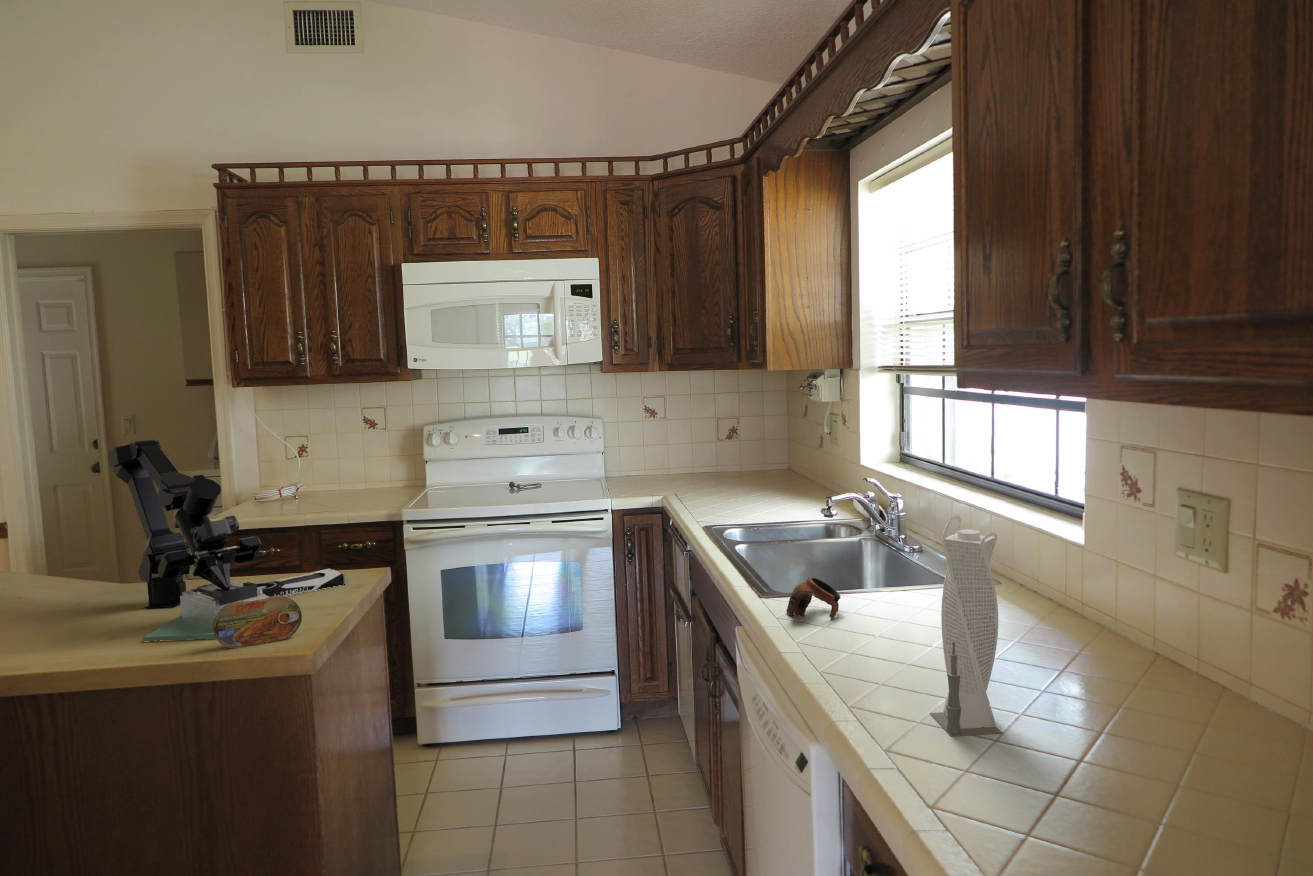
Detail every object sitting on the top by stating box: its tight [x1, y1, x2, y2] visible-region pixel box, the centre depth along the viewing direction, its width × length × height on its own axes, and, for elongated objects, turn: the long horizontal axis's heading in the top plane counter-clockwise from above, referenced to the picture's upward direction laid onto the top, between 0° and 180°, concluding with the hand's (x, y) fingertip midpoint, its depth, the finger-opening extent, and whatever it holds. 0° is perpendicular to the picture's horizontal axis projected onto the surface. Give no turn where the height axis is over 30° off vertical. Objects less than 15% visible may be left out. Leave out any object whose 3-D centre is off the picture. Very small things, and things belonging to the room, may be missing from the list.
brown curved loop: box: [786, 576, 841, 619], centre depth 159 cm, size 12×10×8 cm
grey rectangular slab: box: [196, 583, 236, 596], centre depth 167 cm, size 12×4×1 cm, turn 53°
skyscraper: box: [929, 515, 1004, 737], centre depth 110 cm, size 8×8×28 cm
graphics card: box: [256, 567, 349, 597], centre depth 191 cm, size 10×3×25 cm
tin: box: [213, 596, 303, 649], centre depth 154 cm, size 15×3×8 cm, turn 117°
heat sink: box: [180, 580, 266, 631], centre depth 166 cm, size 15×10×8 cm, turn 53°
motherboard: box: [143, 615, 217, 642], centre depth 167 cm, size 20×20×1 cm
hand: (227, 589), depth 165 cm, fingers closed, pressing on grey rectangular slab
